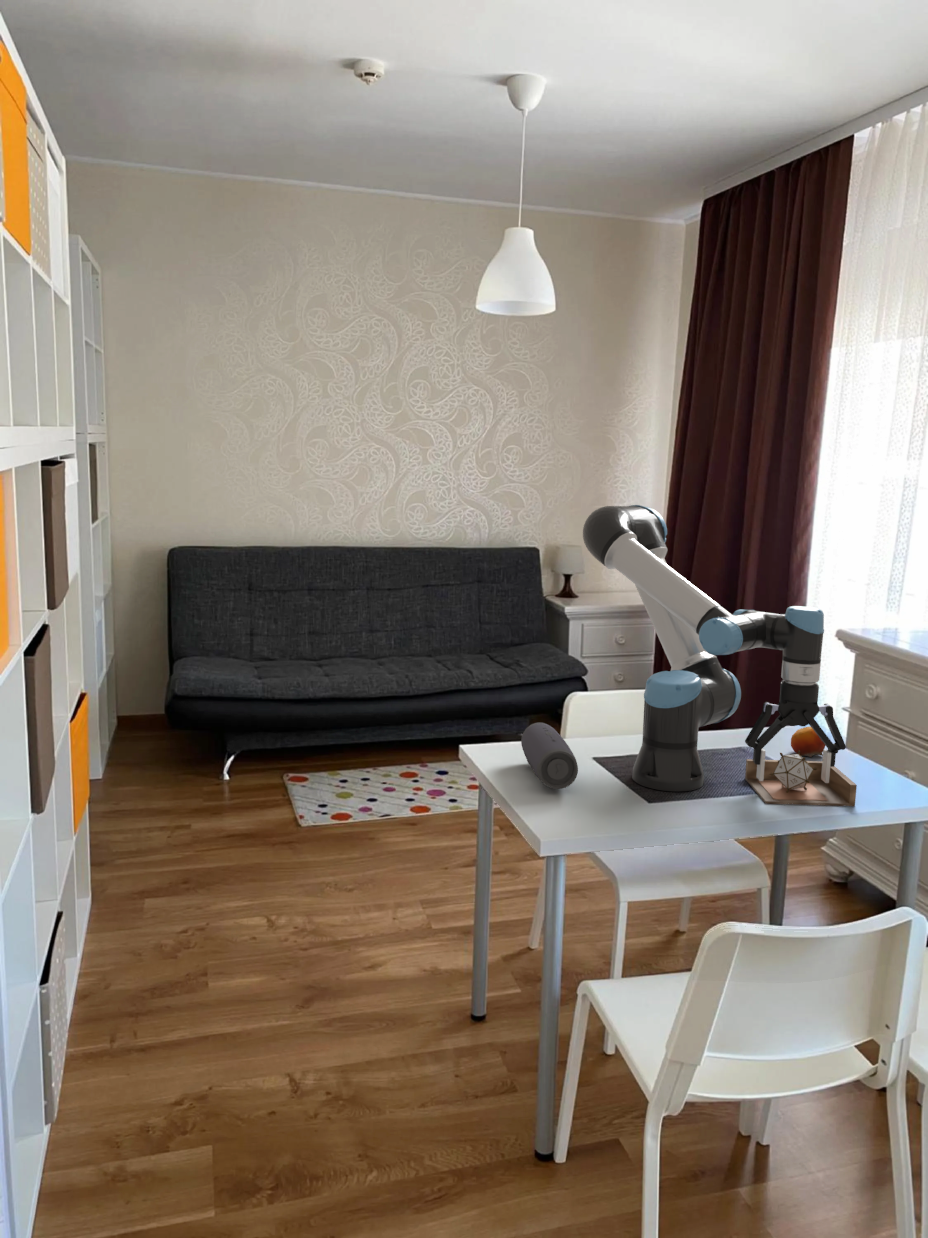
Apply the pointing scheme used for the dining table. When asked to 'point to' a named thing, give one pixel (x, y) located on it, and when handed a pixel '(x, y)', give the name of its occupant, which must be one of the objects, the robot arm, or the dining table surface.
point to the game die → (793, 771)
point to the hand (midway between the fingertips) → (792, 780)
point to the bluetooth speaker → (549, 756)
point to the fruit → (807, 742)
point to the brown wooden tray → (817, 792)
